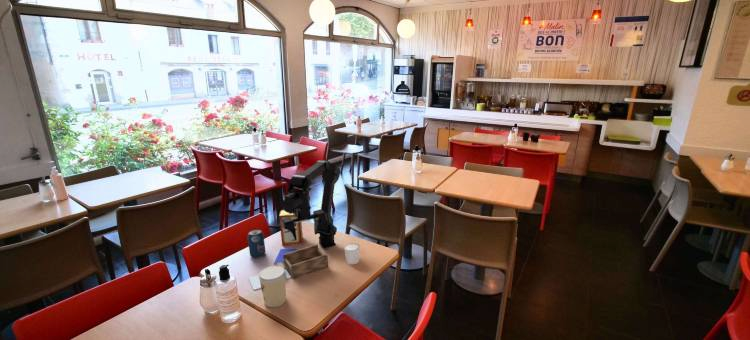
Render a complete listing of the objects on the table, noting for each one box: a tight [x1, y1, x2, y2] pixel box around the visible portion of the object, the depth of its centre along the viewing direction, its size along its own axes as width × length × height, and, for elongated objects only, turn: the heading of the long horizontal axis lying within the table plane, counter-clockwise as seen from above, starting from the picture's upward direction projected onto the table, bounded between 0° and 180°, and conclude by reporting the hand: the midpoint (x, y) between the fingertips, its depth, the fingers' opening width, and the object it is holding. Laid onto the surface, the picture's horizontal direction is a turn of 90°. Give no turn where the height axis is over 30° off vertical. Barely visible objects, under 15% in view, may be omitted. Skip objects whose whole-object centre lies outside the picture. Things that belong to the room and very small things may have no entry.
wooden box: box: [283, 243, 329, 280], centre depth 149 cm, size 16×11×6 cm
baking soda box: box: [278, 209, 304, 246], centre depth 170 cm, size 10×6×16 cm
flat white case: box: [248, 262, 292, 292], centre depth 142 cm, size 15×9×5 cm, turn 122°
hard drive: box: [273, 248, 299, 266], centre depth 158 cm, size 2×8×12 cm
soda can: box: [247, 228, 266, 259], centre depth 159 cm, size 7×7×12 cm
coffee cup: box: [258, 265, 287, 308], centre depth 127 cm, size 9×9×12 cm
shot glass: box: [343, 242, 361, 265], centre depth 153 cm, size 7×7×7 cm
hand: (305, 237), depth 150 cm, fingers open, 9 cm apart
